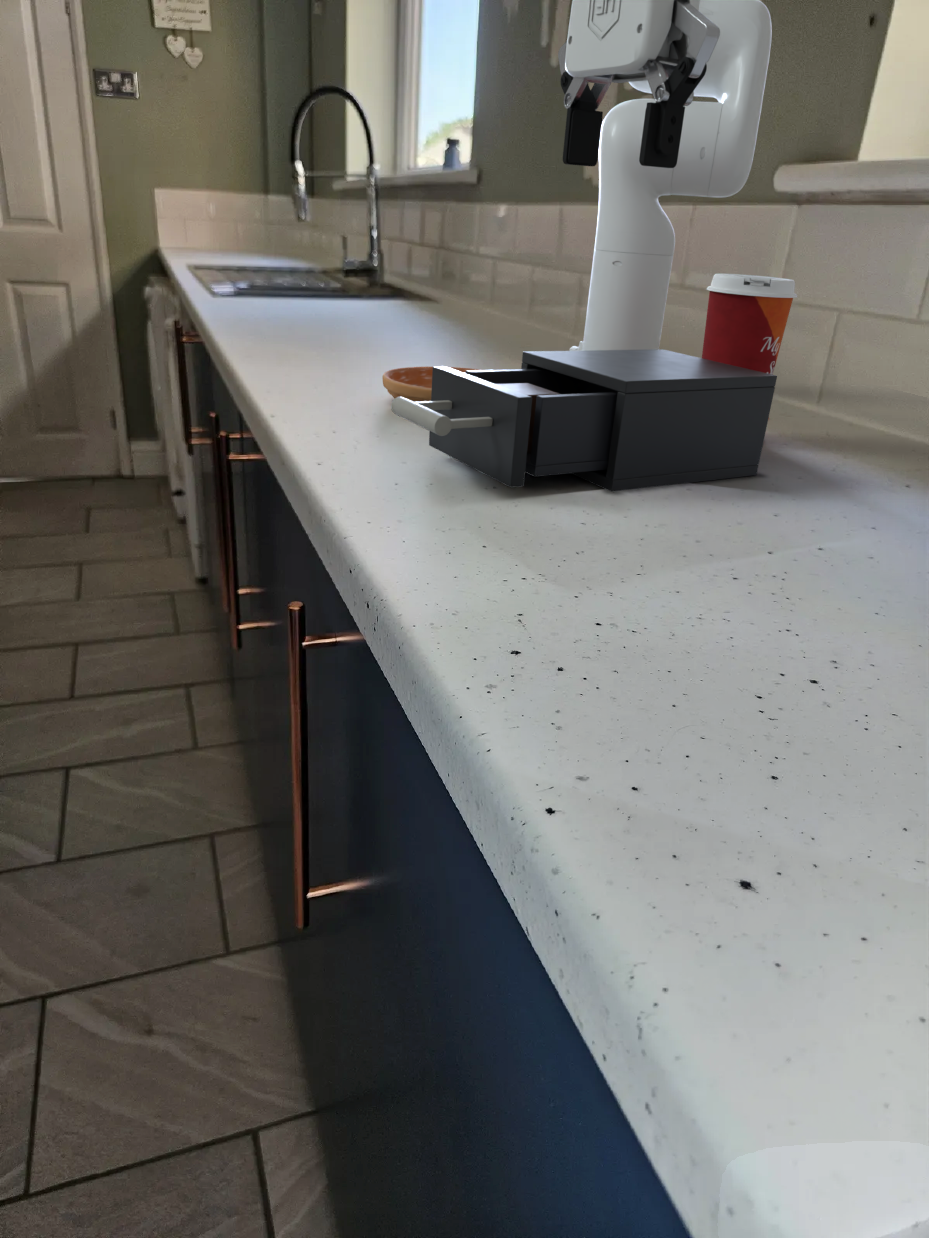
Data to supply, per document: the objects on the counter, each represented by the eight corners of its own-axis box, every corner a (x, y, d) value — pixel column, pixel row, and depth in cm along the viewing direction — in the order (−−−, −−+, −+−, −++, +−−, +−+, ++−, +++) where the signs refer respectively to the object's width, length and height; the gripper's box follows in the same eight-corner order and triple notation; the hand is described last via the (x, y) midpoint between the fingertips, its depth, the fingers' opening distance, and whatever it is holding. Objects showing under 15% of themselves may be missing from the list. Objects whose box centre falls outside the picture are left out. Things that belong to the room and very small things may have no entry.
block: (522, 438, 72) (527, 382, 70) (554, 451, 68) (560, 393, 66) (475, 441, 69) (479, 384, 68) (505, 455, 66) (510, 395, 64)
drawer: (450, 494, 60) (456, 400, 57) (374, 449, 70) (376, 367, 67) (664, 471, 69) (677, 390, 67) (570, 435, 79) (578, 362, 76)
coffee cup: (770, 450, 83) (807, 282, 76) (683, 441, 84) (711, 275, 78) (761, 432, 90) (793, 278, 84) (680, 424, 91) (706, 271, 85)
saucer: (419, 385, 101) (420, 359, 100) (550, 404, 97) (553, 376, 95) (354, 408, 88) (354, 378, 87) (503, 431, 83) (506, 399, 82)
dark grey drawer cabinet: (611, 491, 67) (627, 381, 63) (513, 448, 77) (522, 351, 74) (756, 475, 74) (777, 375, 71) (649, 437, 85) (663, 349, 81)
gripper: (536, -94, 66) (517, 161, 73) (695, -156, 52) (652, 164, 60) (614, -74, 69) (588, 168, 77) (782, -127, 56) (730, 171, 64)
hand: (616, 166), depth 68 cm, fingers open, 9 cm apart
